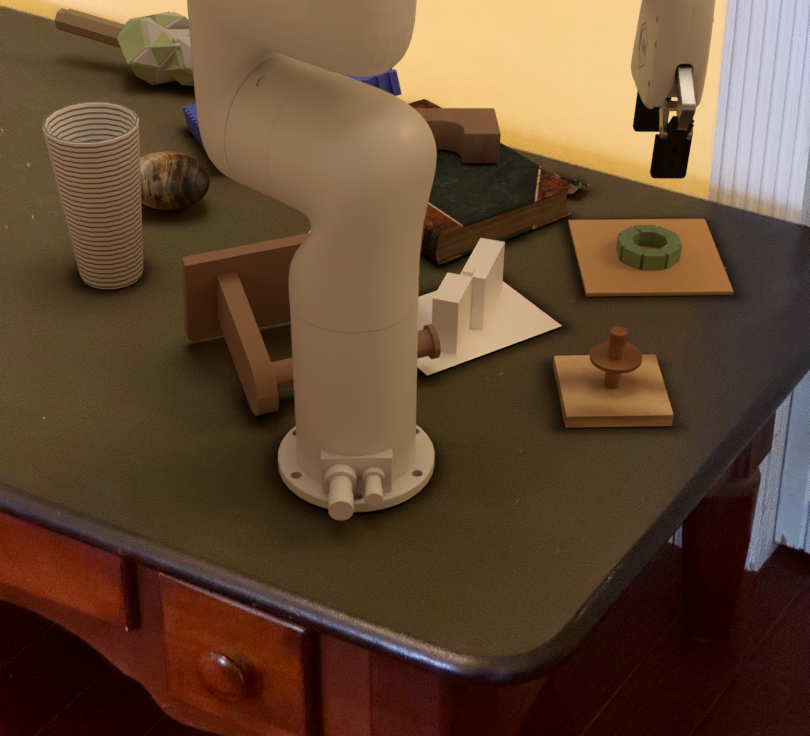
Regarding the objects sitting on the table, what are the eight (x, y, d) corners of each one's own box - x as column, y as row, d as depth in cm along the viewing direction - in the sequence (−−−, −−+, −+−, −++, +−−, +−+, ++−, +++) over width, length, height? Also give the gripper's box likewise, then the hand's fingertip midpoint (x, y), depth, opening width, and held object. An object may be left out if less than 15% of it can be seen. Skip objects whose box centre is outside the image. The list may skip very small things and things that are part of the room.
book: (572, 217, 147) (425, 127, 162) (575, 184, 145) (426, 96, 160) (436, 267, 140) (295, 168, 155) (437, 234, 137) (294, 137, 152)
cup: (83, 247, 142) (60, 97, 132) (167, 255, 141) (150, 104, 131) (54, 293, 136) (27, 139, 125) (142, 301, 135) (122, 146, 124)
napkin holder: (489, 271, 139) (492, 217, 135) (563, 325, 132) (568, 270, 128) (358, 317, 133) (357, 262, 129) (428, 376, 126) (430, 320, 122)
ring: (683, 270, 139) (686, 255, 138) (622, 270, 139) (623, 256, 138) (672, 238, 144) (674, 224, 143) (612, 239, 144) (614, 225, 143)
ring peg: (671, 426, 121) (682, 360, 117) (565, 428, 121) (572, 362, 116) (653, 365, 128) (663, 301, 123) (552, 366, 127) (558, 302, 123)
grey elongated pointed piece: (576, 198, 149) (591, 207, 152) (584, 177, 149) (598, 186, 151) (531, 189, 153) (546, 198, 155) (538, 168, 153) (553, 177, 155)
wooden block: (492, 137, 153) (351, 137, 152) (494, 107, 151) (350, 107, 150) (499, 163, 148) (352, 164, 147) (501, 133, 146) (352, 133, 145)
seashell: (154, 198, 153) (107, 213, 146) (149, 142, 150) (100, 156, 144) (229, 204, 149) (184, 221, 142) (225, 148, 146) (179, 162, 140)
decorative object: (86, 35, 178) (264, 88, 172) (40, 68, 172) (224, 124, 166) (78, -35, 172) (264, 18, 166) (31, -3, 166) (222, 53, 159)
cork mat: (733, 294, 137) (733, 291, 136) (586, 296, 136) (586, 293, 136) (704, 221, 147) (704, 218, 147) (567, 223, 147) (568, 219, 146)
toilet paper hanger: (226, 453, 123) (226, 381, 114) (185, 334, 129) (181, 257, 120) (460, 399, 128) (477, 327, 120) (410, 287, 134) (422, 211, 126)
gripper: (626, -69, 129) (604, 113, 140) (660, 1, 116) (632, 196, 127) (709, -68, 130) (680, 114, 141) (752, 2, 117) (716, 196, 128)
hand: (658, 153), depth 134 cm, fingers open, 9 cm apart
